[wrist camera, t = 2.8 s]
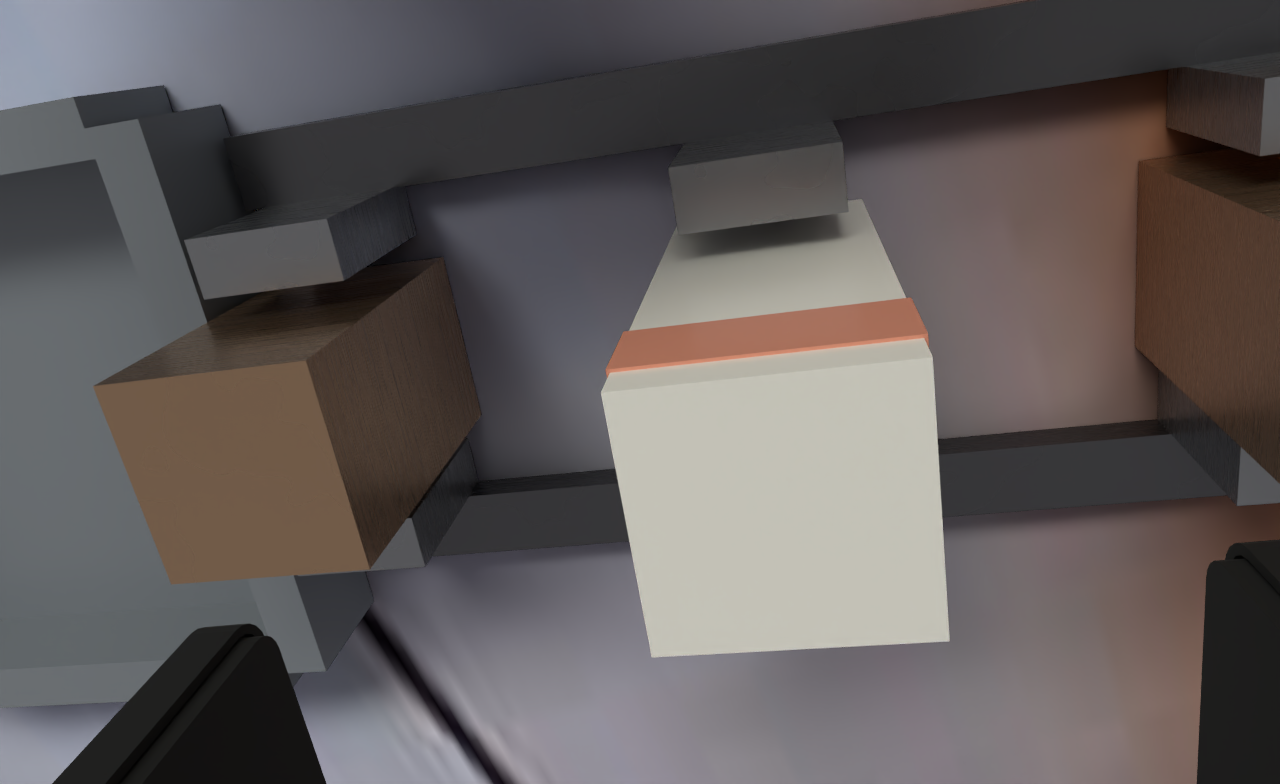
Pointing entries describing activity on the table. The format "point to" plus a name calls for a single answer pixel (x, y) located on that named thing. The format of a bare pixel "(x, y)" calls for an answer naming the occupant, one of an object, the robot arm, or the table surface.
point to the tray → (72, 416)
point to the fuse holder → (703, 201)
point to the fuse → (779, 444)
